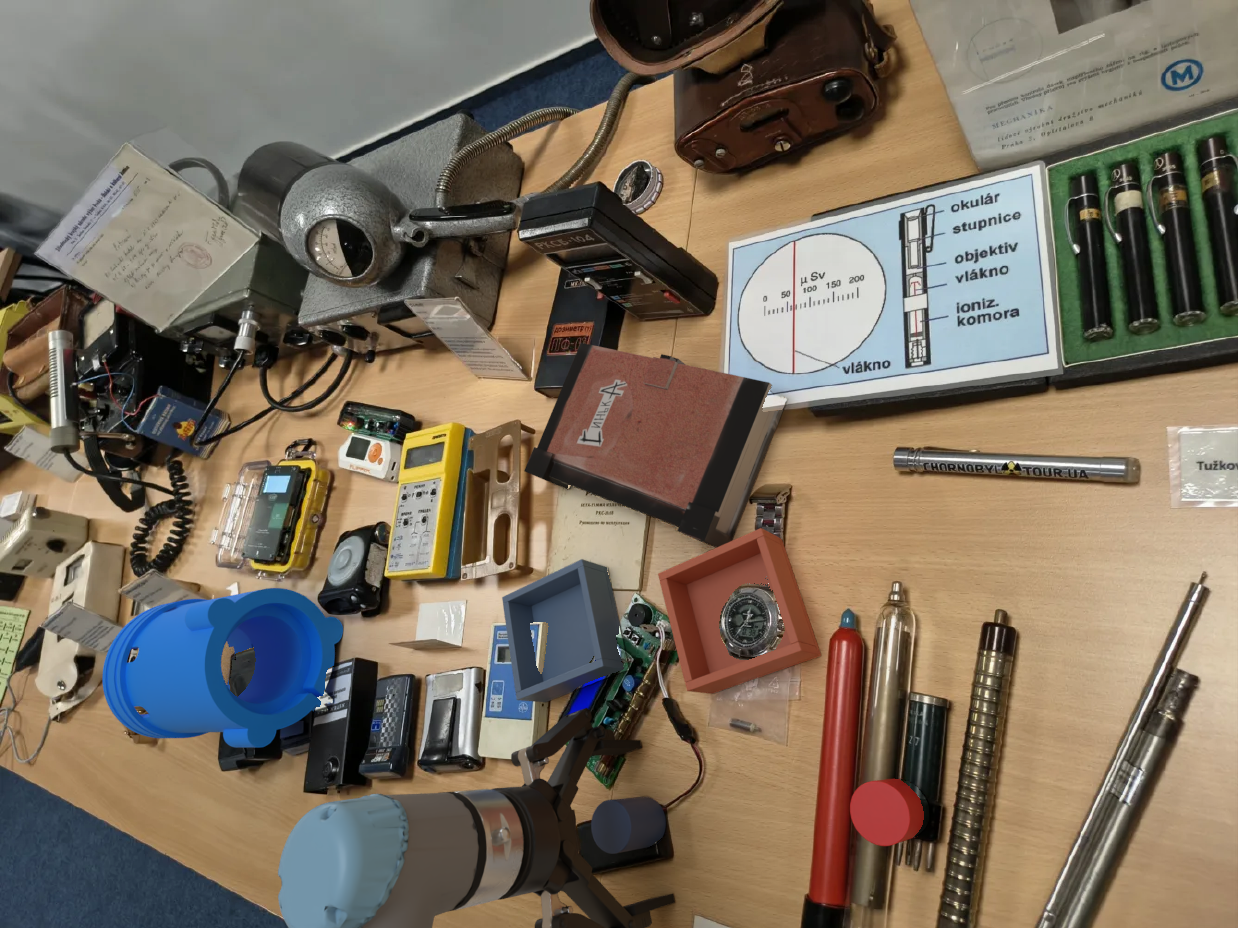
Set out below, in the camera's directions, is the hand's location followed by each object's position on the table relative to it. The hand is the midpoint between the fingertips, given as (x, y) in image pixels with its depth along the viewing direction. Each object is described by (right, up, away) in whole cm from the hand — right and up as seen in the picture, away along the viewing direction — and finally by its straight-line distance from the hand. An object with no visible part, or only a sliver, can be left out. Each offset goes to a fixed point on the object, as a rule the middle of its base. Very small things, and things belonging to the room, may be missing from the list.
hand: (645, 820), depth 73 cm
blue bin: (-7, +15, +11) cm, 20 cm away
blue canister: (0, 0, 0) cm, 0 cm away
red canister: (+20, +7, -12) cm, 24 cm away
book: (+2, +37, +13) cm, 39 cm away
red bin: (+10, +20, 0) cm, 22 cm away
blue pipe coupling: (-52, +3, +40) cm, 65 cm away
